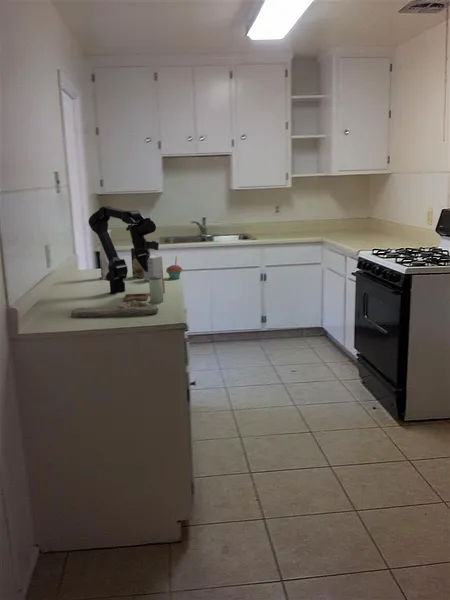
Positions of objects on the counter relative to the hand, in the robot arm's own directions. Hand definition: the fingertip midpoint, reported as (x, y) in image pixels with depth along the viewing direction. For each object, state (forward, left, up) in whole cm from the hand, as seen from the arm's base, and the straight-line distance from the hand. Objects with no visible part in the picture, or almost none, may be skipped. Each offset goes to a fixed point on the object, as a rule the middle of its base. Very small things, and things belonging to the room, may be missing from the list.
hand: (146, 271), depth 258 cm
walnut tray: (-5, -5, -12) cm, 14 cm away
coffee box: (-6, +56, -12) cm, 57 cm away
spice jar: (+5, -12, -12) cm, 17 cm away
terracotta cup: (+5, +7, -12) cm, 14 cm away
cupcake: (+12, +47, -12) cm, 50 cm away
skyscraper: (-25, +57, -12) cm, 63 cm away
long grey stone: (-11, -31, -13) cm, 36 cm away
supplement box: (+1, +45, -12) cm, 46 cm away
